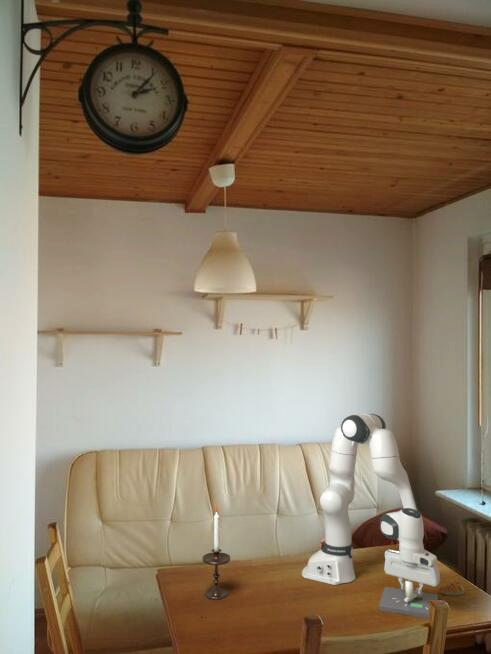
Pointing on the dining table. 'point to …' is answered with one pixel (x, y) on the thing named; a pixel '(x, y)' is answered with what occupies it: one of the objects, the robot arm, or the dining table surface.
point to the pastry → (452, 588)
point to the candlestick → (216, 564)
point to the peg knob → (411, 591)
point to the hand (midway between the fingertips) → (411, 591)
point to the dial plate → (405, 603)
